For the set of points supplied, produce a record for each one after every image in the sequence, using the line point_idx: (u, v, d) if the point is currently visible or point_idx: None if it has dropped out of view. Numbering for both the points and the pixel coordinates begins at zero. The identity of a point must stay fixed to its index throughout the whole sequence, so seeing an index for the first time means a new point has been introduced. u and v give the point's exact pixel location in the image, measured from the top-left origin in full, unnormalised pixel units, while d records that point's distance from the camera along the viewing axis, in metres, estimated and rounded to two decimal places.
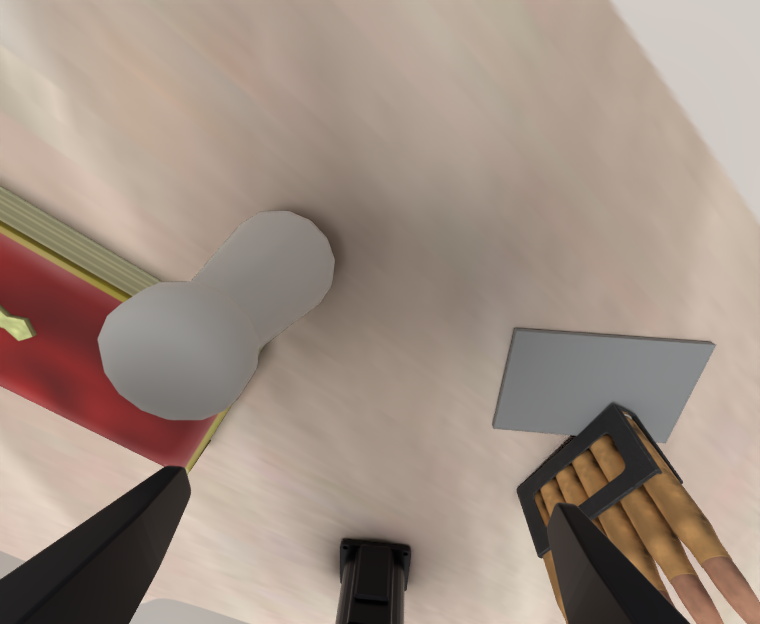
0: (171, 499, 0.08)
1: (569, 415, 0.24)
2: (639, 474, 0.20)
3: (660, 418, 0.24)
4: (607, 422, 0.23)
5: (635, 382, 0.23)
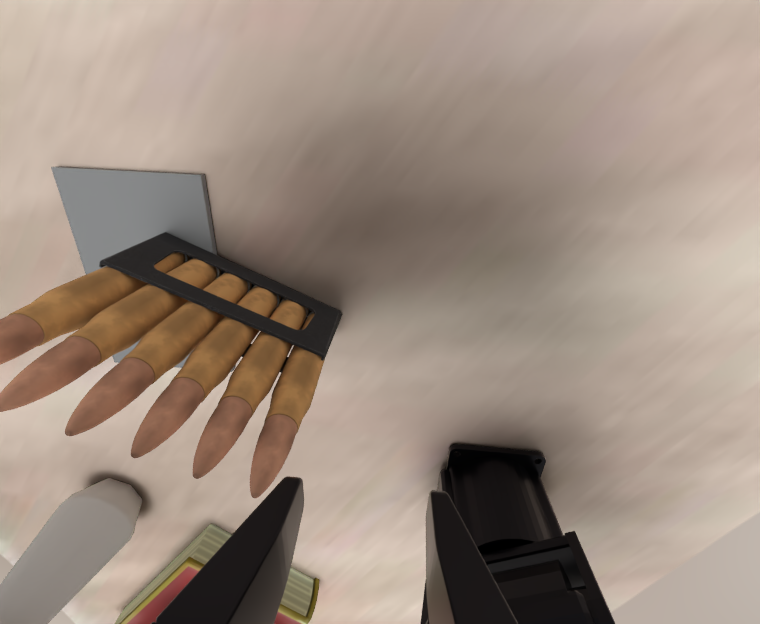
0: (295, 511, 0.08)
1: None
2: None
3: (165, 195, 0.18)
4: None
5: (127, 241, 0.20)
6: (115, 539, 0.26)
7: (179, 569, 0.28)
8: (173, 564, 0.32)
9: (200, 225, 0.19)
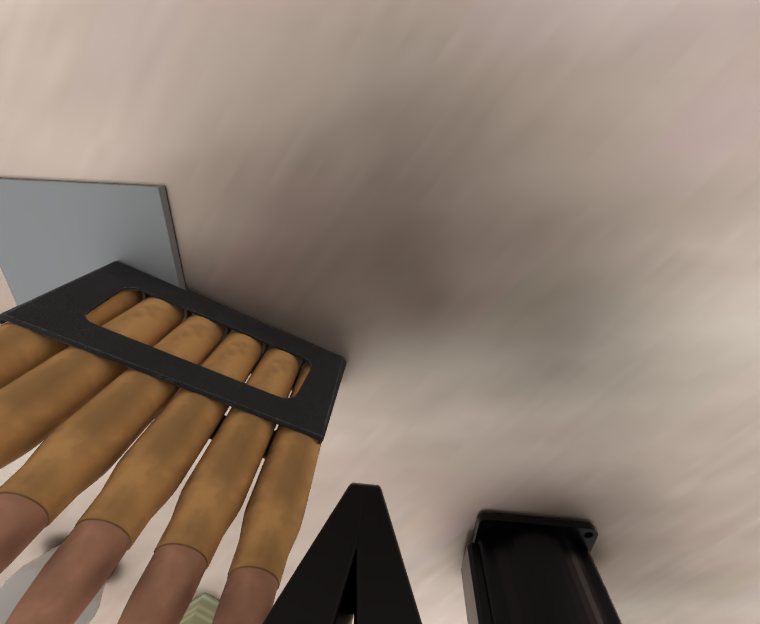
0: None
1: None
2: None
3: (113, 214, 0.14)
4: None
5: (69, 272, 0.15)
6: None
7: None
8: None
9: (161, 252, 0.15)
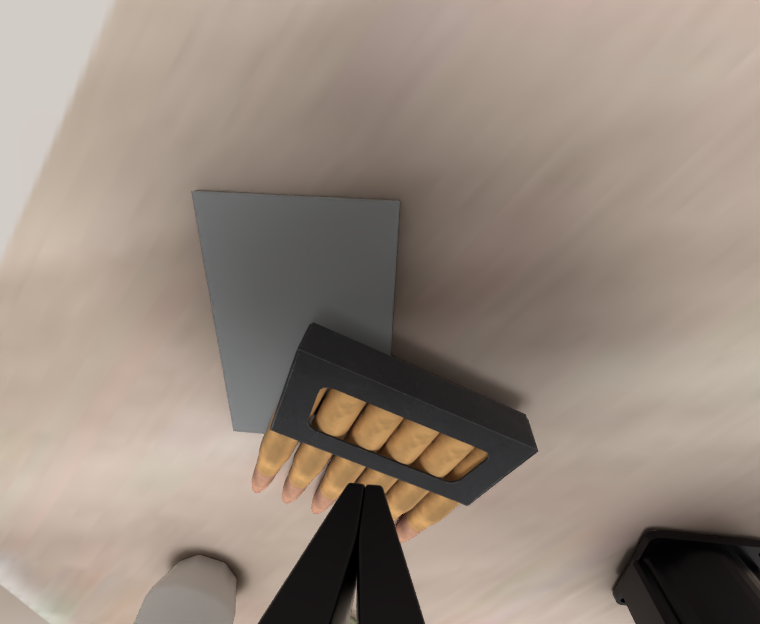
0: None
1: None
2: None
3: (343, 229, 0.14)
4: None
5: (279, 287, 0.15)
6: None
7: None
8: None
9: (385, 267, 0.14)
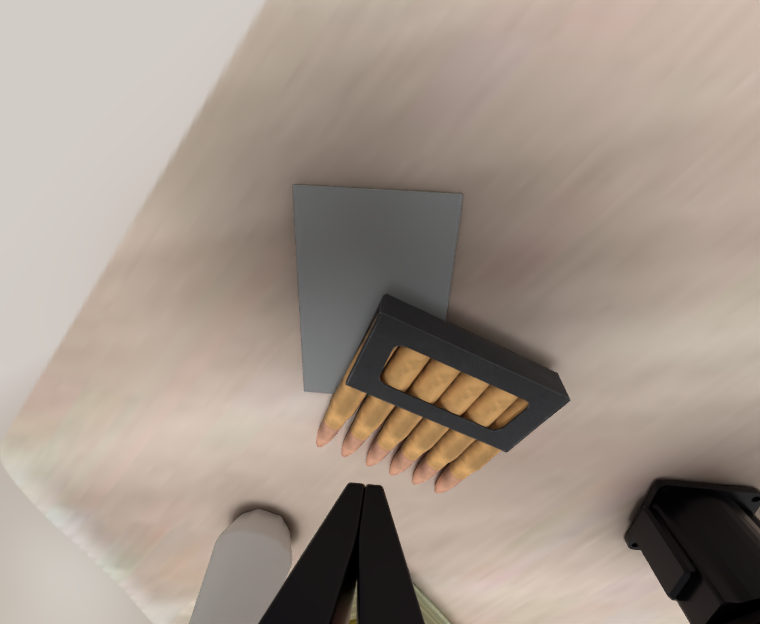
0: None
1: None
2: None
3: (415, 216, 0.17)
4: None
5: (357, 264, 0.18)
6: (281, 577, 0.25)
7: None
8: None
9: (447, 248, 0.17)
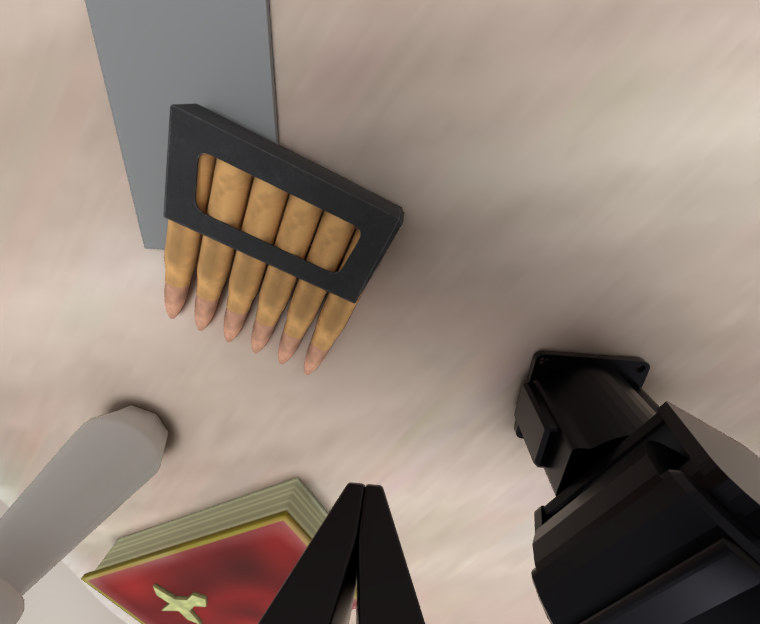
0: None
1: None
2: None
3: (217, 5, 0.15)
4: None
5: (167, 75, 0.16)
6: (141, 468, 0.23)
7: (269, 521, 0.24)
8: (228, 509, 0.28)
9: (259, 48, 0.15)
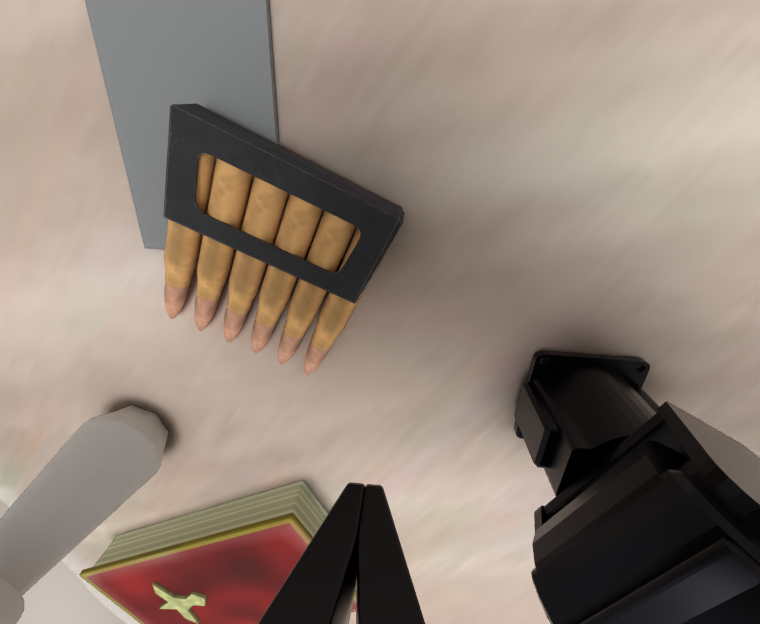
0: None
1: None
2: None
3: (217, 5, 0.15)
4: None
5: (167, 75, 0.16)
6: (141, 468, 0.23)
7: (274, 523, 0.24)
8: (232, 509, 0.28)
9: (259, 48, 0.15)
